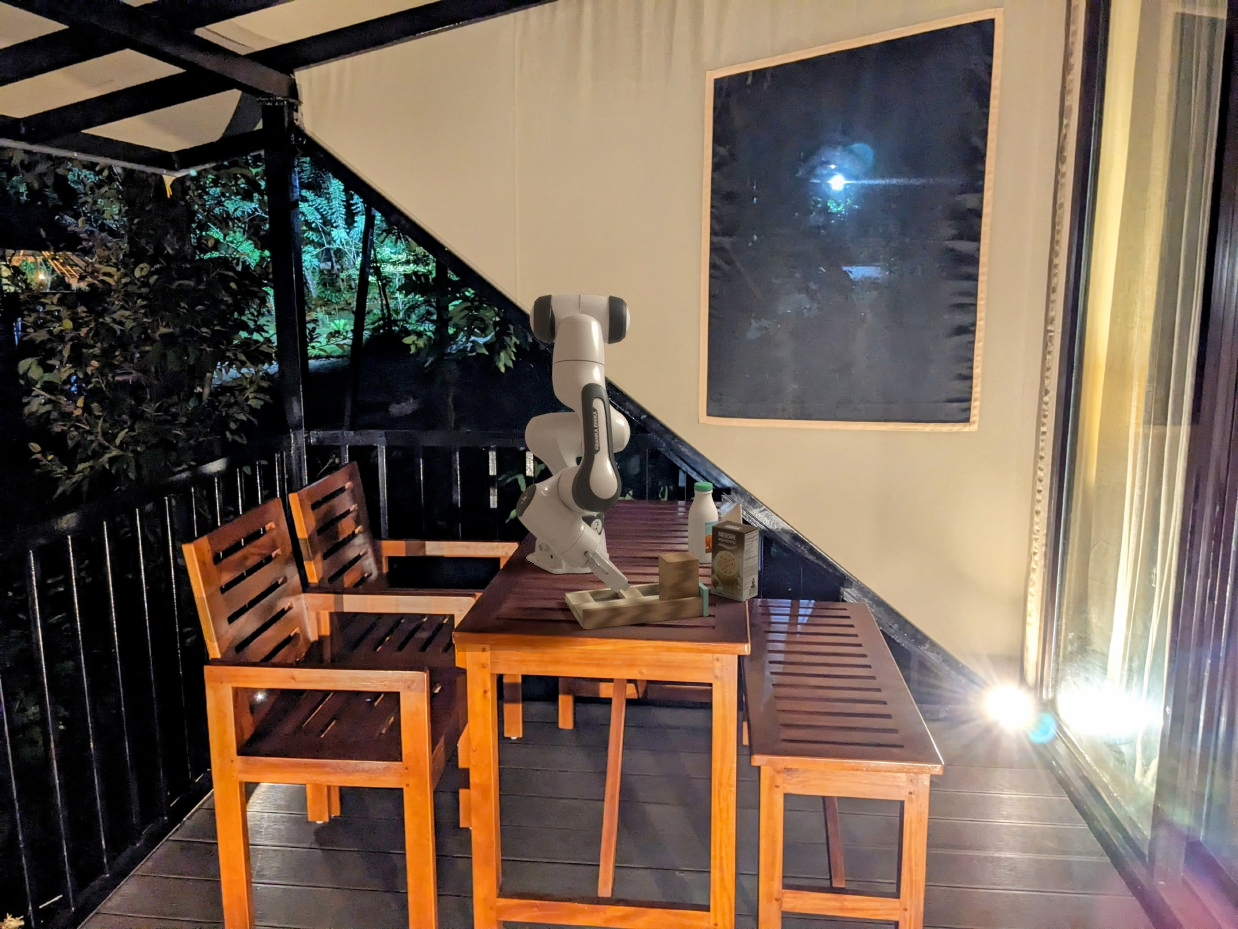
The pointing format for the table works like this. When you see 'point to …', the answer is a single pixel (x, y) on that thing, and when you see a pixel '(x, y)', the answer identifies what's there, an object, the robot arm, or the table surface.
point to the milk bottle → (702, 522)
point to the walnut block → (678, 576)
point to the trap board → (629, 606)
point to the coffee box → (734, 560)
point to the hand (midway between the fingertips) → (626, 587)
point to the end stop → (704, 598)
